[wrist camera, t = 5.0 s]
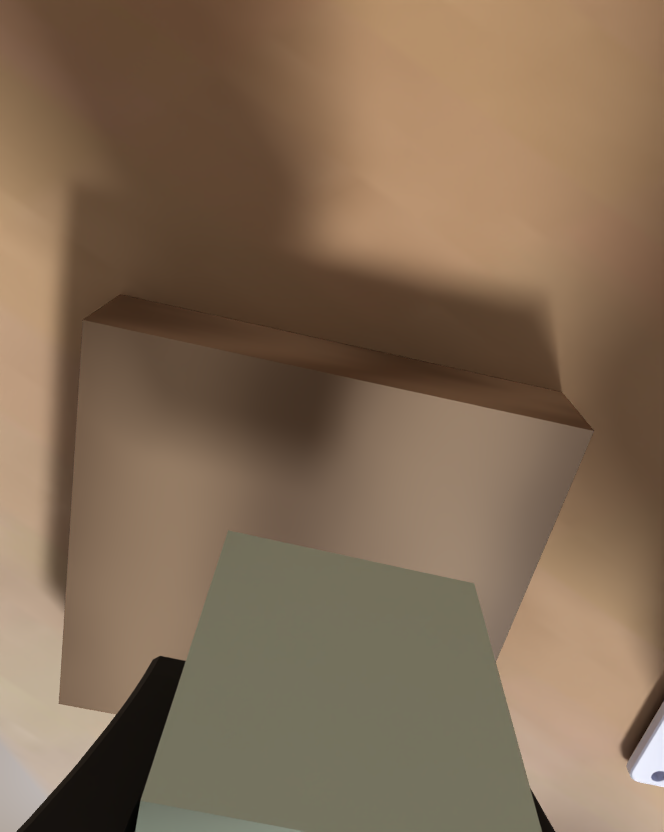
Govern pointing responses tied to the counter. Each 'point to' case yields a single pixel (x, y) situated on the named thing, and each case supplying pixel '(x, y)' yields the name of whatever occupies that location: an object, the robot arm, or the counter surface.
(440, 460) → the walnut slab
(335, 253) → the counter surface
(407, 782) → the sage block
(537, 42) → the counter surface
